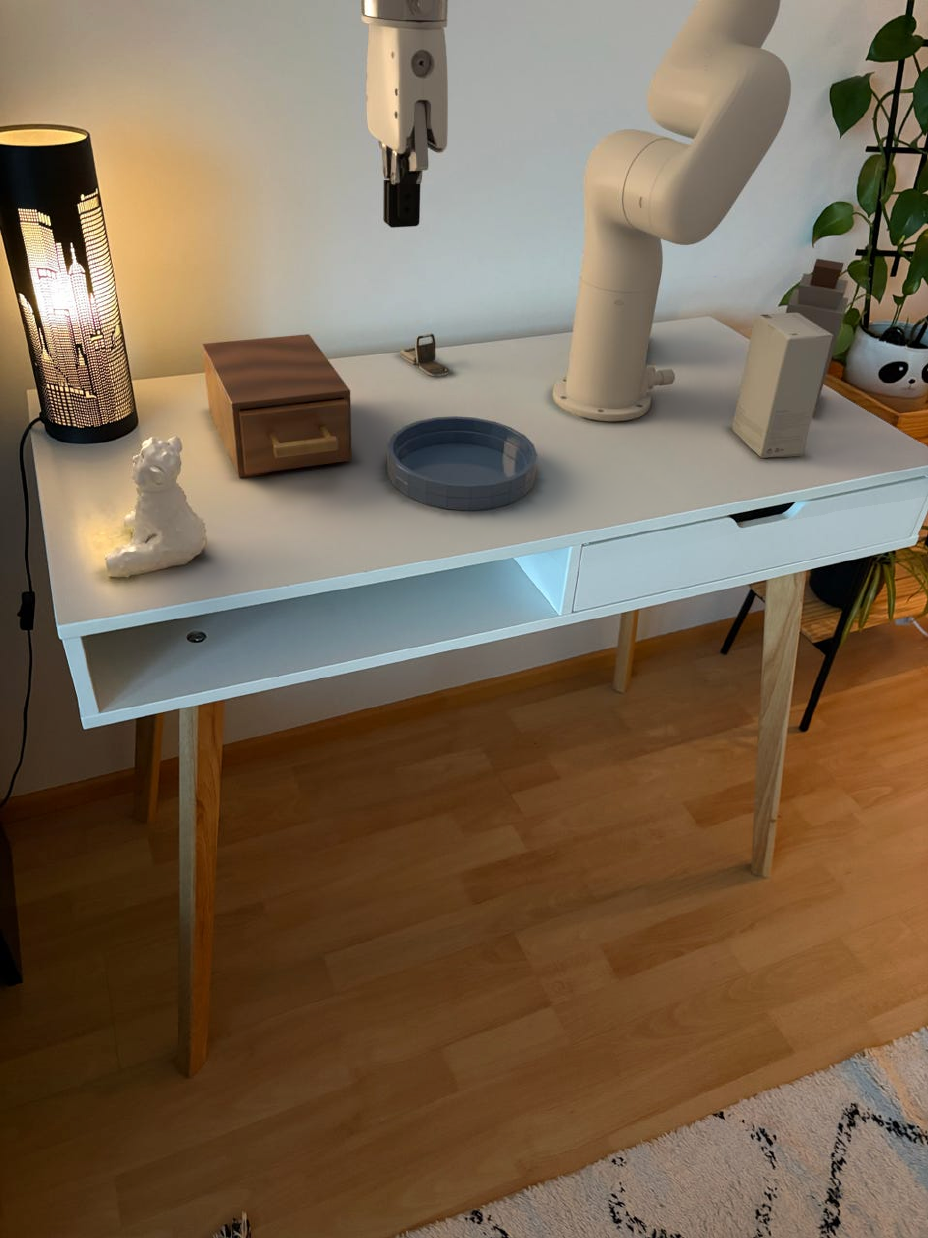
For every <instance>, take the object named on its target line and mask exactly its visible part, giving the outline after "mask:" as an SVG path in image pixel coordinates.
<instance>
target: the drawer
mask: <svg viewBox="0 0 928 1238" xmlns="http://www.w3.org/2000/svg"><path fill="white" fill-rule="evenodd" d="M238 413H239V423H240V434H241V445H242V456H243V467H244V471H245V473H246V475H249V474H256V473H263V472H269V473H271V472H276V471H277V470H278V471H285V470H290V469H292V468H293V469H298V468H299V467H300V468H306V466H307V467H313V466H322V465H327V464H328V463H329V464H336V463H343V462H350V461H349V412H348V402H347V401H346V399H340V400H335V399H327V400H318V401H310V402H305V404H297V405H288V406H279V407H271V408H262V409H257V408H249V409H240V411H239V412H238ZM335 462H336V463H335ZM321 464H322V465H321ZM329 464H328V465H329ZM300 468H299V469H300ZM293 469H292V470H293ZM270 471H271V472H270ZM278 471H277V472H278Z"/></svg>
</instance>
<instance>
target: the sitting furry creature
mask: <svg viewBox="0 0 928 1238" xmlns="http://www.w3.org/2000/svg"><path fill="white" fill-rule="evenodd" d="M182 444H183V443H182V442H181V438H180V437H178V436H174V437H171V438H170V439H168V440H165V439H163V438H161V437H159V436H156V437H154V436H151V437H149V438H148V440H147V439H146V440H144V441H143V443H141V449H140V452H139V454H137V455H136V454H135V455H134V456H133V457H132V459H131V460H132V462H133V464H132V471H131V479H132V480H134V481H133V482H134V483H135V485H137V487H136V489H135V490H136V492H137V497H136V503H135V505H134V510H132V511H130V513H128V514H126V516H125V517H124V520H123V527H124V529H125V530H126V531H128V532H131V537H132V538H131V540H130V541H129V543H126V545H125V544H122V545H121V546H119V547H116V548H114V549H113V551H110V552H108V553H107V554H105V555H104V560H105V566H106V570H107V574H108V577H112V578H126V579H127V578H128V579H129V577H130V576H137V575H141V574H142V575H143V574H145V573H150V572H154V571H155V572H156V571H158V570H159V571H160V570H164V569H167V568H171V567H177V566H182V565H185V564H187V563H188V562H191V561H192V560H193V559H194V558H195V557H197V556H198V555H201V553H202V550H203V549H205V548H204V547H205V545H206V544H207V542H208V538H207V533H206V532H207V529H206V523H205V522H204V518H202V517H200V516H199V515H198V514H197V513H196V512H195V511H194V510H193V507H191V506H190V504H189V503H188V501H187V495H186V494H185V491H184V489H183V488H182V487H181V486H180V483H178V482H177V479H178V476H179V475H180V473H181V470H182V459H181V454H180V453H181V452H182V451H183V445H182Z"/></svg>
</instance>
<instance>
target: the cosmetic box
mask: <svg viewBox="0 0 928 1238" xmlns="http://www.w3.org/2000/svg"><path fill="white" fill-rule="evenodd" d="M750 335H751V336H750V340H749V345H748V350H747V355H746V360H745V365H744V369H743V374H742V379H741V384H740V389H739V393H738V399H737V403H736V408H735V411H734V418H733V421H732V422H733V423H732V427H731V431H732V432H733V433H734V434H735V435H736V436H738V437H739V439H740V440H742V441H743V443H745V444H746V445H747V446H748V447H749V448H750V449H751V450H752V451H753V452H755V454H757V455H758V457H760V458H764V459H765V458H767V459H768V458H774V457H775V458H777V457H780V458H781V457H783V458H785V457H787V458H788V457H801V456H802V455H803V453H804V451H805V447H806V444H807V439H808V435H809V432H810V427H811V425H812V421H813V417H812V416H813V412H814V408H815V404H816V400H817V396H818V392H819V388H820V384H821V380H822V376H823V372H824V368H825V364H826V360H827V356H828V352H829V348H830V344H831V340H832V337H833V335H832V334H831V333H829V332H828V331H826V330H824V329H822V328H821V327H819V326H818V325H816V324H814V323H813V322H811V321H810V320H808V319H807V318H805V317H804V316H802V315H801V314H799V313H786V312H784V313H782V312H781V313H769V314H768V313H766V314H756V315H755V316H754V321H753V325H752V331H751V334H750Z"/></svg>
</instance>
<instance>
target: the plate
mask: <svg viewBox="0 0 928 1238" xmlns="http://www.w3.org/2000/svg"><path fill="white" fill-rule="evenodd" d="M386 455H387V461H386V463H387V465H386V467H387V469H386V470H387V478H388V479H389V481H390V483H391V484H392V485H393V487H394V488H395V489H396V490H398V491H399V492H401V493H402V494H403V495H404V496H406V497H407V498H409V499H411V500H413V501H417V502H418V503H422V504H424V505H426V506H432V507H436V508H440V509H444V510H445V509H446V510H455V511H456V510H457V511H481V510H490V509H496V508H500V507H503V506H507V505H510V504H513V503H514V502H516V501H518V500H520V499H522V498H524V497H525V496H526V494H527V493H529V492H530V490H531V489H532V488H533V486H534V481H535V478H536V468H537V461H538V453H537V450H536V447H535V445H534V443H533V442H532V441H531V440H530V439H529V438H528V437H527V436H526V435H525V434H523V433H521V432H519V431H518V430H516V429H514V428H513V427H511V426H508V425H505V424H503V423H500V422H497V421H493V420H489V419H483V418H477V417H471V416H435V417H432V418H426V419H421V420H417V421H414V422H412V423H409V424H407V425H404V426H402V427H400V429H399V430H397V431H396V432H395V433H394V434H392V435H391V437H390V439H389V440H388V443H387V454H386Z"/></svg>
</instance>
